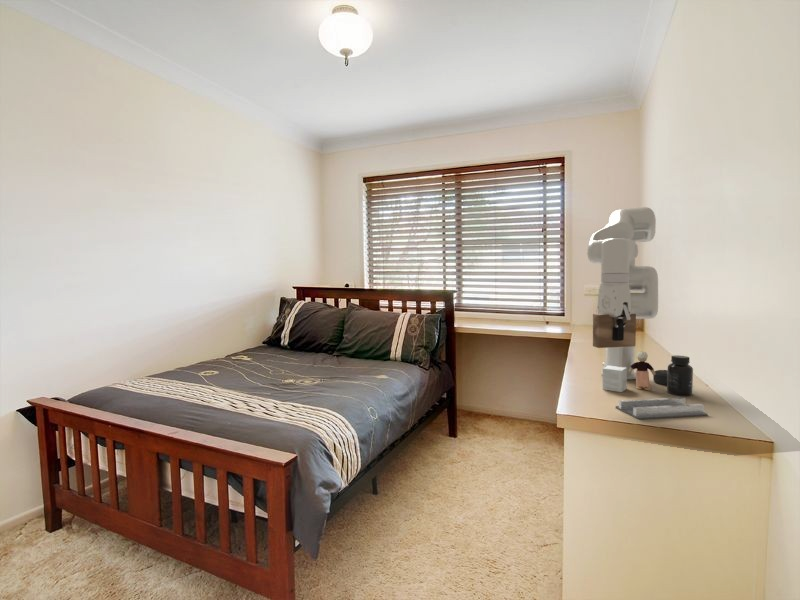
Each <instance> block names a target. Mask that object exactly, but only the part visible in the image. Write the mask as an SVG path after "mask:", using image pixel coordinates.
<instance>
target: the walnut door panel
mask: <svg viewBox="0 0 800 600" xmlns="http://www.w3.org/2000/svg"><path fill="white" fill-rule="evenodd" d="M618 317H621V315H620V316H618ZM630 318H631V320H630V321H628V322H627V323H626V324H625V327H624V340H622V341H613V327H614V317H610V316H609V315H608V314H598V313H593V314H592V347H594V348H598V349H606V348H610V347H632V346H635V347H636V345H637V343H636V341H637V338H636V335H637V334H636V332H637V328H636V327H637V319H636V314H635V313H630ZM619 320H620V319H618V321H619Z"/></svg>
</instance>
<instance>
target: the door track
mask: <svg viewBox="0 0 800 600" xmlns="http://www.w3.org/2000/svg"><path fill="white" fill-rule="evenodd" d="M686 399H687V398H686V397H684V396H683V397H682V396H680V397H660V398H647V399H646V398H642V399H625V400H618V405H615V409H618V410H619V411H621V412H624V413H626V414H627V415H629V416H632V417H633V418H635V419H637V420H640V421H641V420H643V421H644V420H658V419H675V418H690V417H706V416H708V413H706V412H704V410H705V409H704V407H705V405H704V404H702V403H692V404H691V403H689V404H686Z"/></svg>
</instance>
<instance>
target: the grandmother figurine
mask: <svg viewBox="0 0 800 600" xmlns="http://www.w3.org/2000/svg"><path fill="white" fill-rule="evenodd" d="M635 355H636V356H635V357H636V358H637V360H638V361H636V362H634V364H632V365H631V366H630V369H629V372H632V370H633V369H634V370H635V369H636V371H635V372H636V379H635V383H636V384H635V385H636V386H635V389H636V390H646V391H651V390H652V387H650V374H649V371H650V372H651V374H652V376H653V375H655V374H656V373H655V371H656V370H655V369H654V367H653V366H652V365H651V364H650V363H649V362H648V361H647V359H648V355H649V354H648V353H647V352H646V351H639V352H637V354H635ZM646 361H647V362H646Z"/></svg>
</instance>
